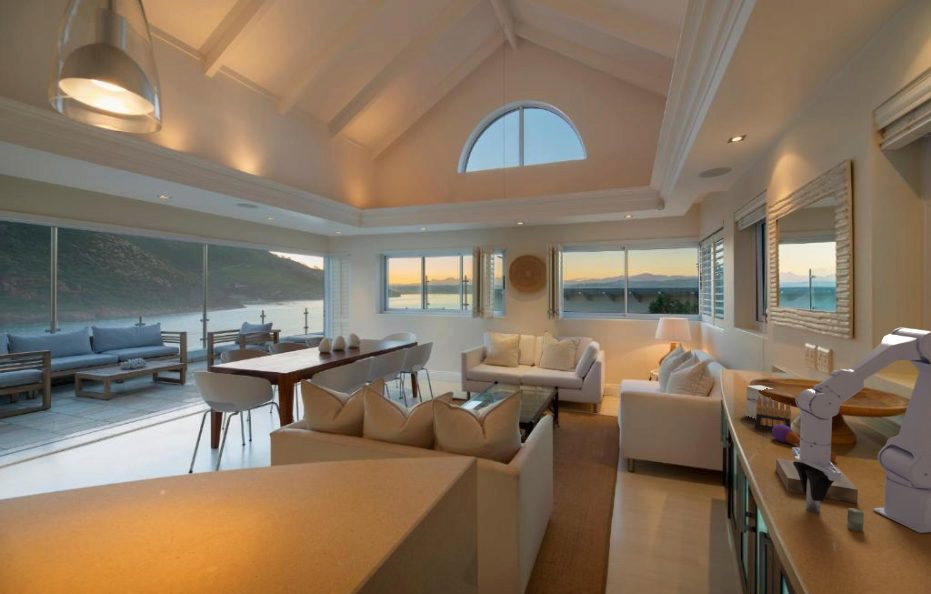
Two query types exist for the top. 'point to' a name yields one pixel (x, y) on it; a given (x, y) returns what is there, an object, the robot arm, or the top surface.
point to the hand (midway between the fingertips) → (813, 496)
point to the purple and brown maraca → (790, 436)
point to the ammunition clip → (772, 414)
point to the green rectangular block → (855, 519)
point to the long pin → (811, 501)
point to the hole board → (836, 490)
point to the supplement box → (755, 400)
